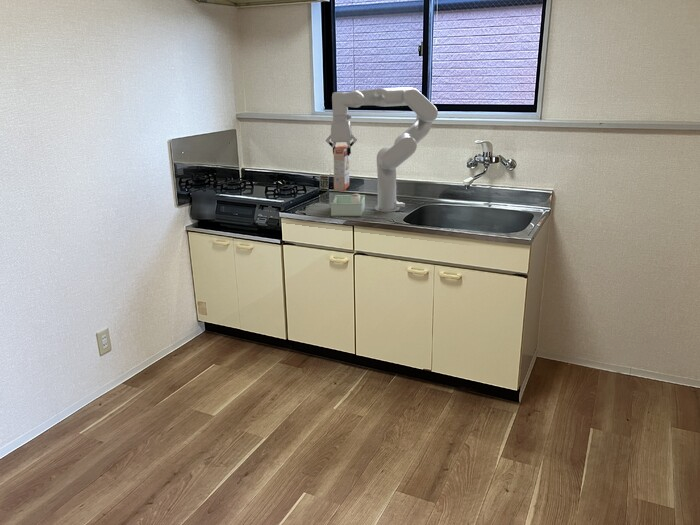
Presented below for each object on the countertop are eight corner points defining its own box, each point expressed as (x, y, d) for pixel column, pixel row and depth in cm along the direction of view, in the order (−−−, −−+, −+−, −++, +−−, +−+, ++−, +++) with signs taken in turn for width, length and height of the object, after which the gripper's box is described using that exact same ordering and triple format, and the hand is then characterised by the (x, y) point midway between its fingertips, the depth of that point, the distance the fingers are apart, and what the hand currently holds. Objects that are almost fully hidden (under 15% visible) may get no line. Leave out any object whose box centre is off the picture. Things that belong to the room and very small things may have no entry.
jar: (360, 209, 292) (360, 193, 290) (360, 212, 288) (359, 195, 285) (352, 209, 293) (352, 193, 290) (351, 211, 289) (351, 195, 286)
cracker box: (345, 191, 281) (344, 148, 273) (333, 191, 282) (332, 148, 274) (350, 185, 294) (350, 144, 286) (338, 185, 295) (338, 144, 287)
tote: (365, 207, 299) (365, 195, 297) (362, 216, 282) (361, 203, 279) (335, 207, 301) (335, 195, 299) (330, 216, 284) (330, 203, 281)
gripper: (359, 117, 278) (359, 154, 284) (324, 118, 280) (325, 154, 286) (357, 118, 271) (358, 156, 277) (321, 119, 273) (323, 157, 279)
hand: (341, 155), depth 282 cm, fingers closed on cracker box, 6 cm apart
